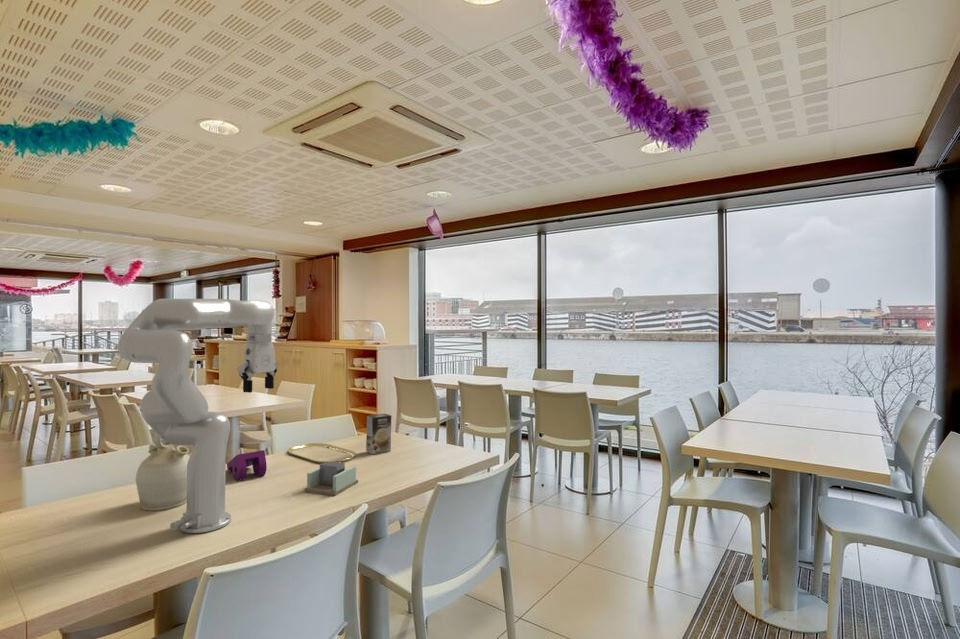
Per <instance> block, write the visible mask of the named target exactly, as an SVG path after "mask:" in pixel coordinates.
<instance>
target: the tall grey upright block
mask: <svg viewBox="0 0 960 639" xmlns="http://www.w3.org/2000/svg"><path fill="white" fill-rule="evenodd" d="M330 461H331V460H330ZM330 461H328V460H327V462H325V463H323V464H322V463H319V468H320V484H319V485H323V486H330V487H333V476H335V475H337V474H339V473H341V472H343V471H345V470H346V468H345V463H346V462H341V463H339V462H330Z"/></svg>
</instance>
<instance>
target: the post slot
mask: <svg viewBox="0 0 960 639" xmlns="http://www.w3.org/2000/svg"><path fill="white" fill-rule="evenodd" d="M306 478H307V479H306V487H305V488H304V492H305V493H311V494H319V495H326V496H333V497H335V496H337V495H339V494H341V493H342V492H344V491H346V490H348V489H350V488H351V487H353V486H355V485H356V484H358V483H359V479H357V466H355V465H353V466H350V467H348V468H346V469H345V471H343V472H341V473H339V474H337V475H335V476H333V487H330V486H323V485H319V484H320V467H318V468H316V469H313V470H311V471H309V472H307V474H306Z"/></svg>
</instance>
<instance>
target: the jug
mask: <svg viewBox="0 0 960 639" xmlns="http://www.w3.org/2000/svg"><path fill="white" fill-rule="evenodd" d="M148 448H149V450H148V453H149V456H147V457H146V458H145V459H143V460H142V461H141V463H140V464H139V466H138V468H137V471H136V476H135V483H136V484H135V485H136V491H137V494H138V500H139V503H140V505H141V509H142V510H145V511H151V512H152V511H153V512H154V511H155V512H156V511H157V512H158V511H163V510H164V511H165V510H170V509H173V508H177V506H178V507H181V506H182V505H184V504H187V463H188V460H189V458H190V456H191V455H189V452H190V450H189V448H188V447H187V446H186V445H176V447H175V445H172V444H169V443H167V442H166V443H165V444H163V443H162V438H161V437H160V436H159V435H158V434H157V433H156V432H155V433H154V435H153V443H151V444H150V445H149V447H148Z"/></svg>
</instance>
